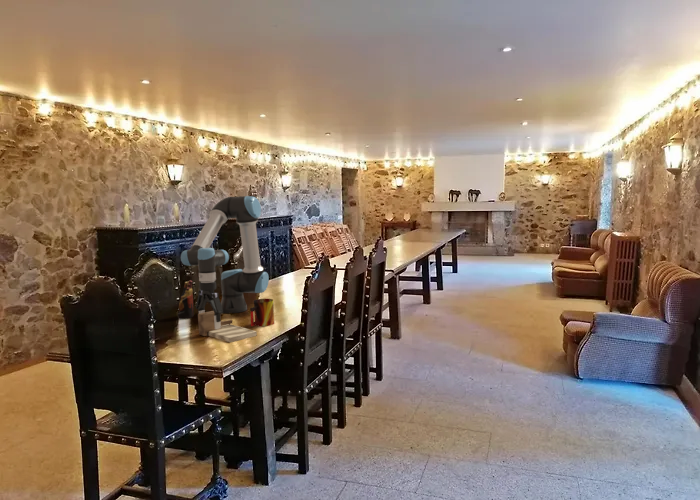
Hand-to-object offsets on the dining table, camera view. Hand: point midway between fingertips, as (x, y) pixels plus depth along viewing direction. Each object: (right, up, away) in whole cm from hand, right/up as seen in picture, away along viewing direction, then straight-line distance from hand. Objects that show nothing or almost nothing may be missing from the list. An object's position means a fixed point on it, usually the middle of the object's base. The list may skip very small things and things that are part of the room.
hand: (209, 326), depth 230 cm
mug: (+22, -2, +15) cm, 27 cm away
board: (+9, -4, -2) cm, 10 cm away
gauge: (+3, -3, +3) cm, 5 cm away
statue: (-23, -1, +35) cm, 42 cm away
